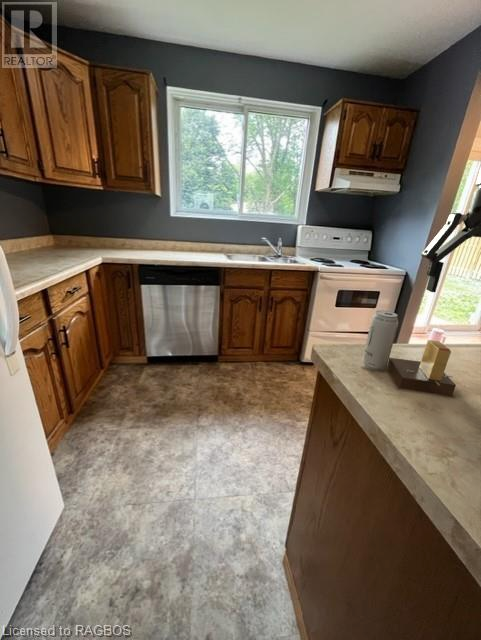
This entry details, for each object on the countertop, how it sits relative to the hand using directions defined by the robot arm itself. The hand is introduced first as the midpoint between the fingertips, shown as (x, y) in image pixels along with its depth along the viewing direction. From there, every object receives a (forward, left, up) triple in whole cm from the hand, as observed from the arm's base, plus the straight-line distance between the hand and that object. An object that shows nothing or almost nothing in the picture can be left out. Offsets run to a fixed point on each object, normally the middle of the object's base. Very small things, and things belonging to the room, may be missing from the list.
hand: (464, 293), depth 60 cm
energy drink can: (+14, -2, -22) cm, 26 cm away
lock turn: (+3, +4, -19) cm, 20 cm away
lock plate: (+5, +2, -22) cm, 23 cm away
